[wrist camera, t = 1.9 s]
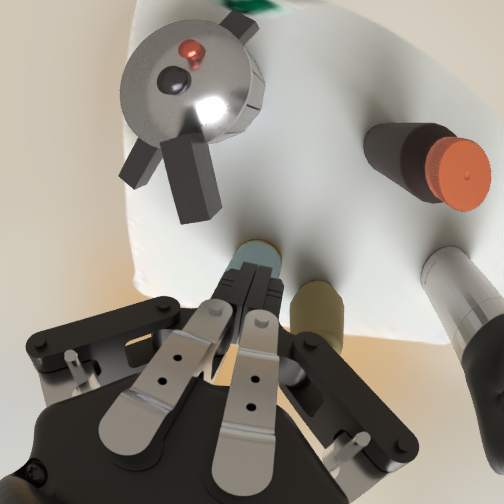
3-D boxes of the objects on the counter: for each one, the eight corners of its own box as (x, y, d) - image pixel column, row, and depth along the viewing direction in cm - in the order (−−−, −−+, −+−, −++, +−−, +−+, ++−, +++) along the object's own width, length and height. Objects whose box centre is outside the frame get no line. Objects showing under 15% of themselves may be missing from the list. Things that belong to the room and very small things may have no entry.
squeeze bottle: (298, 267, 40) (289, 358, 24) (349, 280, 40) (365, 371, 24) (285, 309, 44) (270, 400, 28) (332, 319, 43) (335, 411, 27)
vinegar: (353, 152, 32) (405, 182, 14) (380, 112, 29) (457, 102, 11) (391, 183, 32) (466, 243, 15) (418, 145, 29) (512, 172, 12)
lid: (118, 53, 22) (93, 48, 18) (237, 7, 19) (224, -12, 15) (154, 218, 31) (134, 232, 27) (278, 197, 27) (273, 211, 23)
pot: (217, 15, 26) (193, -10, 18) (300, 66, 28) (298, 46, 20) (126, 145, 37) (88, 154, 29) (192, 198, 39) (163, 219, 31)
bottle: (285, 242, 39) (272, 305, 26) (278, 283, 42) (263, 353, 29) (237, 234, 40) (202, 291, 27) (234, 275, 43) (202, 340, 30)
